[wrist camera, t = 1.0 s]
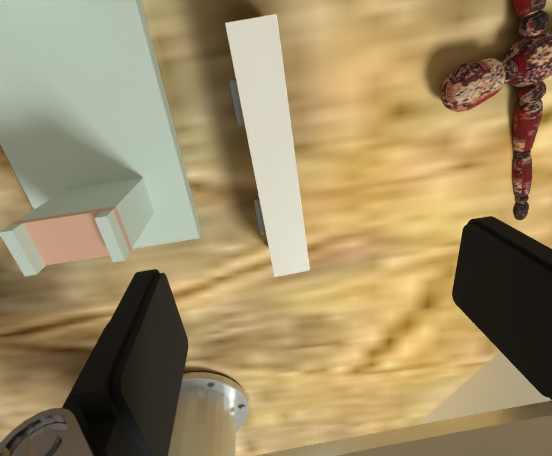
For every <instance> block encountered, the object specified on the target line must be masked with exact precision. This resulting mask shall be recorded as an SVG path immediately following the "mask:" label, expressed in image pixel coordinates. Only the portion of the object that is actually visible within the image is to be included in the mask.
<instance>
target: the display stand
mask: <svg viewBox="0 0 552 456" xmlns="http://www.w3.org/2000/svg"><path fill="white" fill-rule="evenodd" d="M0 145H1V146H2V148H3V150H4V152H5V154H6V156H7V158H8V160H9V162H10V164H11V166H12V168H13V170H14V172H15V174H16V175H17V177H18V179H19V181H20V183H21V185H22V187H23V189H24V191H25V193H26V195H27V197H28V199H29V201H30V202H31V204H32V206H33V208H34V210H33V211H31V212H30V213H28V214H27V215H25V216H24V217H22V218H21V219H19V220H18V221H16V222H14V223H13V224H11V225H10V226H8V227H7V228H5V229H4V230H2V231H1V232H0V235H1V237H2V239H3V240H4V242H5V244H6V246H7V247H8V249H9V251H10V252H11V254H12V256H13V257H14V259H15V261H16V262H17V264H18V266H19V267H20V269H21V271H22V272H23V274H24V276H30V275H36V274H37V273H39V272H40V271H41V270H42V269H43V268H44V267H45V266H46V265H51V264H58V263H64V262H70V261H77V260H83V259H90V258H96V257H102V256H109V255H110V256H111V259H112V261H113V262H118V261H125V259H126V257H127V256H128V254H129V253H130V251H131V249H133V248H139V247H146V246H152V245H158V244H165V243H171V242H178V241H184V240H190V239H197V238H199V237H200V233H201V228H200V224H199V220H198V216H197V212H196V209H195V205H194V201H193V197H192V193H191V189H190V186H189V182H188V178H187V174H186V170H185V166H184V163H183V159H182V155H181V151H180V147H179V143H178V140H177V136H176V132H175V128H174V124H173V120H172V117H171V113H170V109H169V105H168V101H167V97H166V94H165V90H164V86H163V82H162V78H161V74H160V71H159V67H158V63H157V59H156V55H155V52H154V48H153V44H152V40H151V36H150V32H149V29H148V25H147V21H146V17H145V13H144V9H143V6H142V2H141V0H0Z"/></svg>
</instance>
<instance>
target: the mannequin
mask: <svg viewBox="0 0 552 456" xmlns="http://www.w3.org/2000/svg"><path fill="white" fill-rule="evenodd" d="M545 4H546V0H513V5H514V8H515V11H516V14H517V16H518V17H519V18H520V19H522V18H523V19H522V20H521V21H520V23H519V26H518V33H519V35H520V36H521V37H523V38H524V39H522V40H520V41H519V42H517V43H515V44H514V45H512V47H511V48H510V49H509V51H508V52H507V54H506V56H505V59H504V60H501V61H499V60H497V59H494V58H489V59H484V60H480V61H476V62H472V63H468V64H463V65H461V66H459V67H457V68H456V69H454V70H453V71H451V72H450V73H449V74H448V76H447V77H446V79H445V80H444V82H443V84H442V86H441V93H440V95H441V100H442V102H443V104H444V105H445V107H446V108H448V109H450V110H453V111H456V112H461V111H466V110H470V109H472V108H474V107H475V106H477V105H479V104H480V103H482V102H484V101H485V100H487V99H489V98H490V97H492V96H494V95H495V94H496V93H498V92H499V90H500V89H501V88H502V87H503V85H504V84H505V83H507V82H509V83H510V84H512V85H514V86H517V87H521V88H520V89H519V91H518V97H519V99H520V100H521V101H520V102H519V103H518V104H517V107H516V110H515V113H514V127H513V149H514V153H513V155H514V157H515V158H514V159H513V174H512V181H513V188H514V195H515V196H516V197H515V201H516V202H517V203H516V205H515V207H514V215H515V218H516V219H517V220H523V219H524V218H525V217H526V216H527V213H528V209H529V205H528V203H527V200H528V194H529V192H530V187H531V181H532V159H531V155H530V153H531V150H530V149H531V148H532V146H533V143H534V140H535V137H536V133H537V130H538V127H539V124H540V121H541V117H542V114H543V103H542V100H541V98H542V97H543V96H544V94H545V93H546V85H545V84H544V82H543V81H542V80H544V79H546V78H547V77H549V76H551V75H552V28H551V29H547V30H545V29H546V27H547V26H548V22H549V16H548V14H547V13H546V12H544V11H541V10H543V9H544V7H545Z"/></svg>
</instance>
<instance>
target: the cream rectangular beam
mask: <svg viewBox="0 0 552 456" xmlns="http://www.w3.org/2000/svg"><path fill="white" fill-rule="evenodd" d="M225 25H226V30H227V35H228V40H229V45H230V51H231V56H232V61H233V66H234V71H235V76H236V80H232V81H229V82H230V89H231V94H232V99H233V104H234V109H235V114H236V118H237V123H238V126H242V125H245V128H246V133H247V138H248V143H249V148H250V153H251V158H252V163H253V169H254V174H255V179H256V184H257V189H258V194H259V199H256V200H254V205H255V211H256V216H257V221H258V226H259V231H260V235H264V234H266V235H267V240H268V246H269V251H270V256H271V261H272V266H273V271H274V276H275V277H277V276H282V275H288V274H293V273H298V272H303V271H308V270H310V267H309V260H308V252H307V244H306V237H305V229H304V221H303V213H302V206H301V198H300V190H299V183H298V175H297V167H296V160H295V152H294V144H293V136H292V129H291V121H290V113H289V106H288V98H287V90H286V83H285V75H284V67H283V59H282V52H281V44H280V36H279V29H278V21H277V14H274V15H268V16H263V17H257V18H251V19H245V20H239V21H234V22H228V23H225Z"/></svg>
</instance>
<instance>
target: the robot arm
mask: <svg viewBox="0 0 552 456" xmlns="http://www.w3.org/2000/svg"><path fill="white" fill-rule="evenodd" d="M452 296H453V300H454V302H455V304H456V305H457V306H458V307H459V308H460V309H461V310H462V311H463V312H464V313H465V314H466V315H467V316H468V317H469V319H470V320H471V321H472V322H473V323H474V324H475V325H476V326H477V327H478V328H479V329H480V330H481V331H482V332H483V333H484V334H485V335H486V336H487V337H488V339H489V340H490V341H491V342H492V343H493V344H494V345H495V346H496V347H497V348H498V349H499V350H500V351H501V352H502V353H503V354H504V355H505V356H506V357H507V358H508V360H509V361H510V362H511V363H512V364H513V365H514V366H515V367H516V368H517V369H518V370H519V371H520V372H521V373H522V374H523V375H524V376H525V377H526V379H528V381H529V382H530V383H531V384H532V385H533V386H534V387H535V388H536V389H537V390H538V391H539V392H540V393H541V394H542V395H544V396H546V397H549V398H550V399H551V400H552V249H551V248H549V247H547V246H545V245H543V244H542V243H540V242H538V241H536V240H534V239H533V238H531V237H529V236H527V235H525V234H523V233H522V232H520V231H518V230H516V229H514V228H513V227H511V226H509V225H507V224H505V223H504V222H502V221H500V220H498V219H496V218H495V217H492V216H490V217H483V218H476V219H471V220H470V221H469V222H468V224H467V225H465V226H464V228H463V232H462V238H461V244H460V250H459V256H458V261H457V267H456V273H455V279H454V285H453V291H452ZM187 352H188V339H187V336H186V333H185V330H184V327H183V324H182V321H181V318H180V315H179V312H178V309H177V306H176V303H175V300H174V297H173V294H172V291H171V288H170V286H169V283H168V280H167V277H166V275H165V273H159V271H158V270H156V269H154V270H148V271H141V272H137V273H136V274H135V275H134V277H133V279H132V281H131V283H130V284H129V286H128V288H127V290H126V292H125V294H124V296H123V298H122V300H121V301H120V303H119V305H118V307H117V309H116V311H115V313H114V315H113V317H112V318H111V320H110V322H109V323H108V324H107V325H106V327H105V329H104V331H103V332H102V334H101V336H100V338H99V340H98V342H97V344H96V345H95V347H94V349H93V351H92V353H91V355H90V357H89V359H88V360H87V362H86V364H85V366H84V368H83V370H82V372H81V373H80V375H79V377H78V379H77V381H76V383H75V385H74V386H73V388H72V390H71V392H70V394H69V396H68V398H67V400H66V401H65V403H64V405H63V407H62V408H54V409H49V410H46V411H43V412H40V413H38V414H36V415H34V416H33V417H31V418H29V419H27V420H26V421H24V422H23V423H22V424H20V425H19V426H18V427H16V428H15V429H14V430H13V431H12V432H11V433H10V434H9V435H8V436H7V437H6V438H5V439H4V440H3V441H2V442H1V443H0V456H235V433H236V431H237V430H238V429H239V428H240V427H241V426H242V425H243V424H244V422H245V421H246V418H247V416H248V398H247V395H246V393H245V392H244V390H243V389H242V388H241V387H240V386H239V385H238V384H237V383H236V382H234V381H232V380H231V379H229V378H226V377H224V376H221V375H218V374H213V373H206V372H190V373H184V368H185V362H186V357H187ZM183 373H184V374H183ZM257 456H552V401H548V402H542V403H536V404H530V405H525V406H519V407H514V408H508V409H502V410H497V411H491V412H486V413H481V414H475V415H470V416H464V417H459V418H453V419H448V420H442V421H437V422H432V423H426V424H421V425H415V426H410V427H405V428H399V429H394V430H388V431H383V432H378V433H372V434H367V435H362V436H356V437H351V438H346V439H340V440H335V441H330V442H325V443H319V444H314V445H309V446H304V447H299V448H293V449H288V450H283V451H278V452H272V453H267V454H262V455H257Z"/></svg>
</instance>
